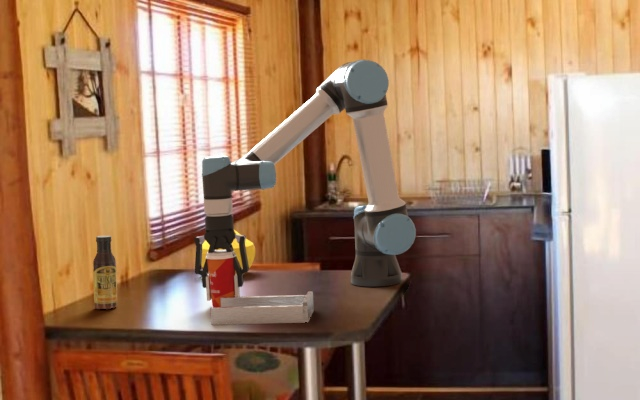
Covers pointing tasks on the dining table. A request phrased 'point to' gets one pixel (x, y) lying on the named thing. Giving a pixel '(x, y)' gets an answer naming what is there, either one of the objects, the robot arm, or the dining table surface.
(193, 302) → the dining table surface
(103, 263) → the sauce bottle
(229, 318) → the channel
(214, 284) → the coffee cup
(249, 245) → the vase
